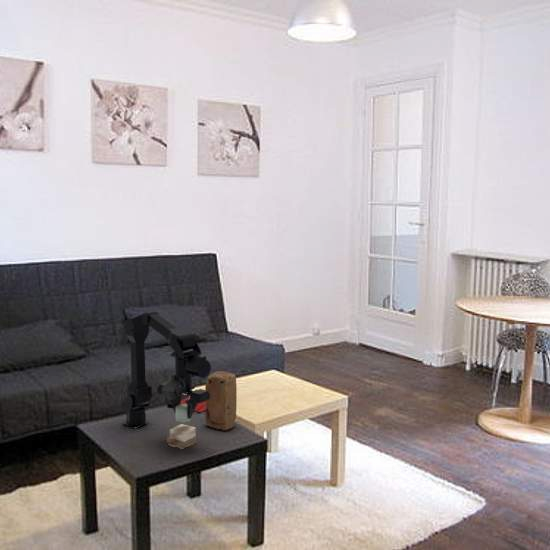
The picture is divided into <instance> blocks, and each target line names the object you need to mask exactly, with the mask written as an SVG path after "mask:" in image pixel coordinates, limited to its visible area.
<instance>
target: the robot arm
mask: <svg viewBox="0 0 550 550" xmlns="http://www.w3.org/2000/svg"><path fill="white" fill-rule="evenodd" d="M150 328H151V329H153V330H154V331H156V333H158V334H159V335H161V336H162V337H163V338H164V339H166V340H167V341H168V346H169V347H170V348H171V350H173V352H172V353H171V354H170V356H171V357H173V358H174V374H172V375H171V379H170V381H165V382H161V383H159V384H158V386H157V387H156V391H157V394H161V395H162V396H163V398H167V399H168V400H169V402H171V404H172V406H171V407H172V408H173V411H174V415H176V406H177V405H180V404H181V397H182V396H184V395H186V396H189V399H188V400H186V401H185V402H186V403H187V415H188V419H190V418H192V417H193V414H194V413H193V412H194V410H195V408H196V406H197V404H198V403H202V402H204V401H206V400H209V399H210V392H209V391H207V390H205V389H202V388H199V389H195V385H193V378H194V377H198V378H201V379H202V378H203V379H204V378H206V377H209V375H210V372H211V369H212V365H211V363H210V361H209V360H208V359H207V356H205V355H202V351H201V347H200V346H199V344H198V343H197V340H196V337H195V335H194V334H193V333H192V332H190V331H187V330H185V329H180V328H177V327H176V326H174V325H173V324H172V323H171V322H169V321H168V320H166V319H165V318H164V317H162V316H161V315H160V314H159V312H158V311H155V310H154V311H153V310H152V311H145V312H143V313H141V314H139V315H138V316H135V317H134V316H132V317H129V318H127V319H126V320H125V321H124V330H125V332H124V333H125V336H126V338H127V339H128V340H129V343H130V368H131V369H130V370H131V371H130V372H131V379H130V380H131V382H130V384H129V385H128V387H127V390H126V397H124V399H123V400H122V402H121V409H122V410H124V411H126V422H124V423H123V424H125V425H124V426H126V425H128V426H127V427H129V426H132V427H138V426H141V427H143V426H145V425H144V424H146V422H147V423H148V424H149V421H147V419H146V417H147V416H146V415H147V414H146V408H148V407H150V405H151V401H152V397H153V393H152V392H153V391H152V389H153V388H152V386H151V385H149V383H148V382H147V377H146V376H147V375H146V340H147V338H148V337H149V334H150ZM195 390H196V391H195ZM142 425H143V426H142ZM146 425H147V424H146ZM132 427H131V428H132ZM138 428H139V427H138Z"/></svg>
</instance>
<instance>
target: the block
mask: <svg viewBox="0 0 550 550" xmlns="http://www.w3.org/2000/svg"><path fill="white" fill-rule="evenodd" d="M204 386H205V387H204V390H207V391H209V392H210V399H209V400H206V401H205V403H206V410H205V412H204V414H205V416H204V417H205V421H204V422H205V425H206V426H208V427H210V428H212V427H213V428H212V429H215V428H217V429H216V430H218V429H222V430H221V431H228V429H229V430H231V429H233V427H234V426H235V422H236V418H237V398H238V396H237V391H238V389H237V377H236V375H235V373H233V372H229V371H226V370H225V371H223V370H218V371H214V372H212V373H211V374H209V375H208V376H207V379H206V382H205V385H204ZM230 428H231V429H230Z"/></svg>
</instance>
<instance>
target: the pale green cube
mask: <svg viewBox="0 0 550 550" xmlns="http://www.w3.org/2000/svg"><path fill="white" fill-rule="evenodd" d="M174 415H175V414H174ZM191 418H192V417H191ZM191 418H190V419H188V415H187V405H186V404H181V405H177V406H176V415H175V422H177V423H181V424H183V423H188V422H191Z"/></svg>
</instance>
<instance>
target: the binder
mask: <svg viewBox="0 0 550 550" xmlns="http://www.w3.org/2000/svg"><path fill="white" fill-rule="evenodd" d="M196 390H197V389H194V391H196ZM188 399H189V396H186V395H182V396H181V404H186V405H187V403H186V402H185V401H186V400H188ZM181 404H180V405H181ZM166 407H167V408H170V407H173V406H172V404H171V401H169V402H167V405H166ZM205 410H206V403H205V401H204V402H202V403H198V404H197V406H196V408H195V410H194V412H197V413H196V414H202V413H201V412H204V411H205ZM204 413H205V412H204Z"/></svg>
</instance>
